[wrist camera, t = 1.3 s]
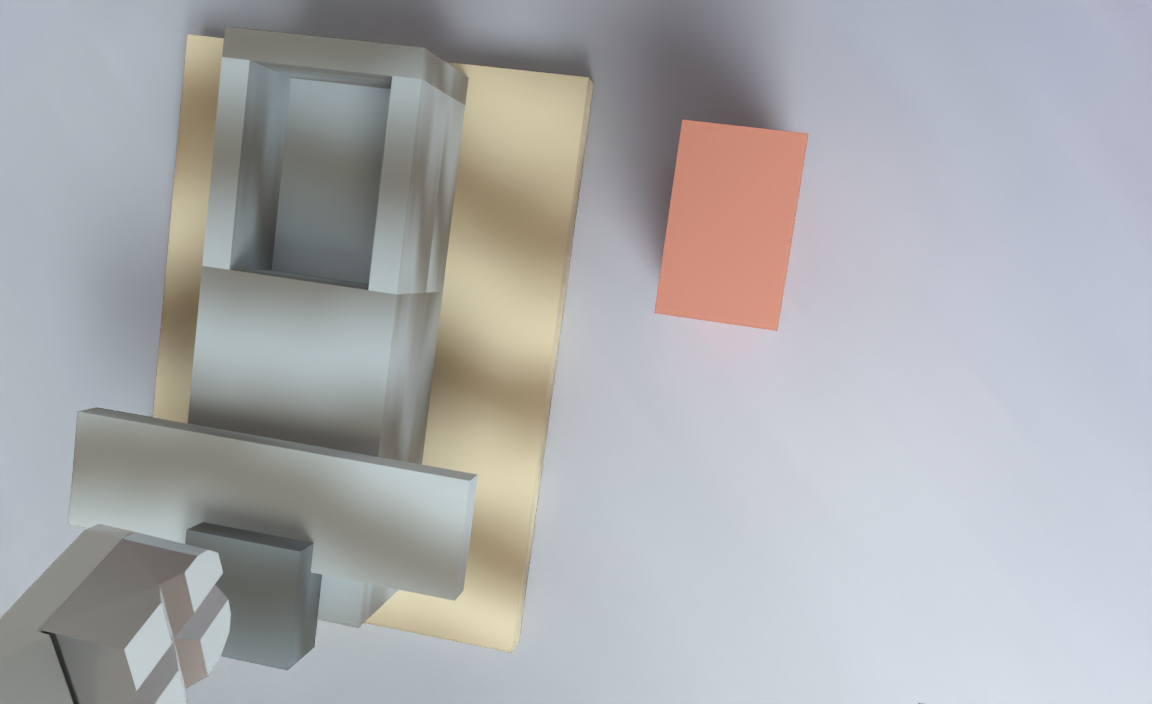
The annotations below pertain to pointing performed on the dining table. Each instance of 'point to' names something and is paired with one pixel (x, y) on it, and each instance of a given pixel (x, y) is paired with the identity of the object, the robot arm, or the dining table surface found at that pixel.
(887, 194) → the dining table surface
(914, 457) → the dining table surface
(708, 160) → the salmon pink rectangular box
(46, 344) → the dining table surface
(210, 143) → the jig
